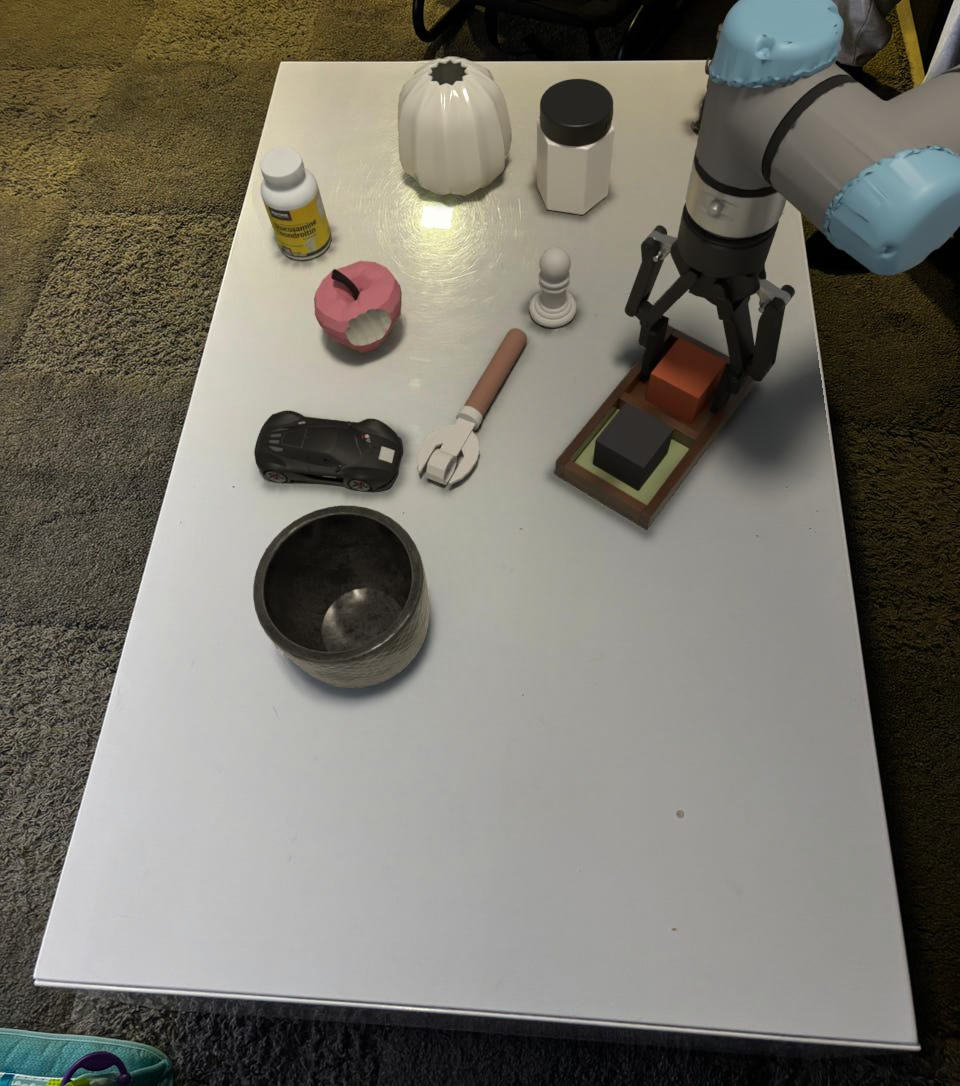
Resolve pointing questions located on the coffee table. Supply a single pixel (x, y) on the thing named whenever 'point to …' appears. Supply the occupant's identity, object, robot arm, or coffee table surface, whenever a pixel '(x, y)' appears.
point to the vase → (453, 127)
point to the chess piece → (553, 290)
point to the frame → (674, 466)
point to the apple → (358, 305)
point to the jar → (574, 145)
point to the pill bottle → (294, 204)
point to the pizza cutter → (469, 419)
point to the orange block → (685, 380)
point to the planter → (344, 595)
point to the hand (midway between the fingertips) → (684, 385)
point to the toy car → (328, 451)
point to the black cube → (632, 446)
